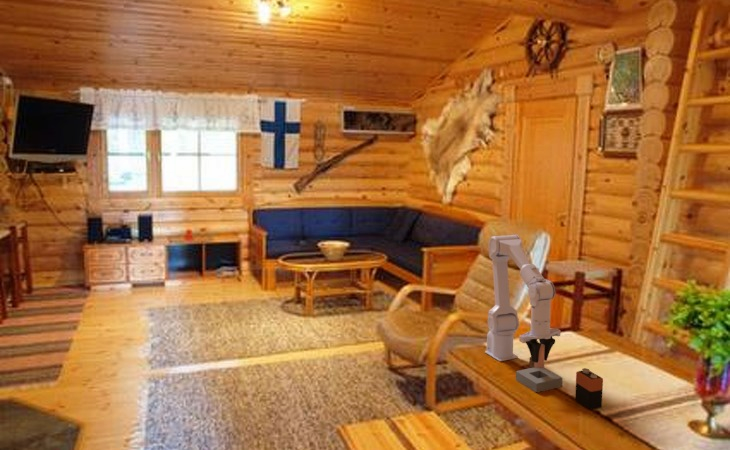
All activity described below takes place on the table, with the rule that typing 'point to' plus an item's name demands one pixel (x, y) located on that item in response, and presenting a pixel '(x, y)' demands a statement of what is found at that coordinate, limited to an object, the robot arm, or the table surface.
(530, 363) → the short peg
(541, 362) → the long peg
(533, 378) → the hole block
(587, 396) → the battery
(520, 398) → the table surface
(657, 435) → the table surface
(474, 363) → the table surface
